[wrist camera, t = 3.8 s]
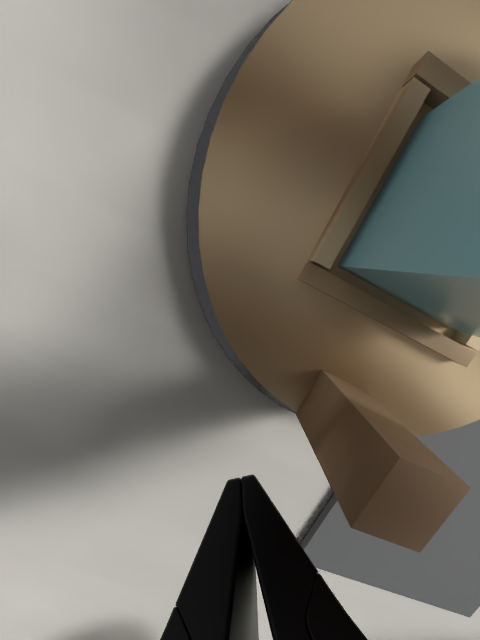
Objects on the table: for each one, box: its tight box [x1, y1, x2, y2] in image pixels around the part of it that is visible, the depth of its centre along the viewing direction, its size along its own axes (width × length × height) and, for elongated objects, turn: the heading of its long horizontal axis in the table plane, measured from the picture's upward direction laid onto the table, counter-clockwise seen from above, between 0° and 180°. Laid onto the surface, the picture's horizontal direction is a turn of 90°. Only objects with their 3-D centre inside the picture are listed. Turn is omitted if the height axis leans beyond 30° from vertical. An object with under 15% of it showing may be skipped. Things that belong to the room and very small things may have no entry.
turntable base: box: [187, 2, 296, 413], centre depth 11 cm, size 17×17×1 cm
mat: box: [300, 420, 480, 617], centre depth 14 cm, size 12×12×1 cm
